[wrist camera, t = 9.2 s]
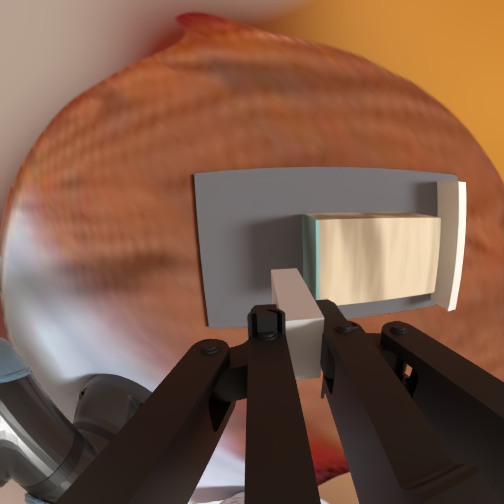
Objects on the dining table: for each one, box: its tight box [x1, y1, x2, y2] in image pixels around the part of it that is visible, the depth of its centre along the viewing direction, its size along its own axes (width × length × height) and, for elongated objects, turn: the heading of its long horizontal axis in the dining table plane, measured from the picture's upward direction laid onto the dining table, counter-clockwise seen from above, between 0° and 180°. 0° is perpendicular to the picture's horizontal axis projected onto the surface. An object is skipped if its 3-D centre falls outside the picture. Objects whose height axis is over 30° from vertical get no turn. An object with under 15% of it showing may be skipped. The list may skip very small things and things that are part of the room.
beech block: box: [302, 212, 441, 305], centre depth 23 cm, size 6×7×12 cm
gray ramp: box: [194, 167, 457, 328], centre depth 27 cm, size 30×16×1 cm, turn 93°
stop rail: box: [430, 182, 466, 311], centre depth 24 cm, size 1×14×4 cm, turn 3°
